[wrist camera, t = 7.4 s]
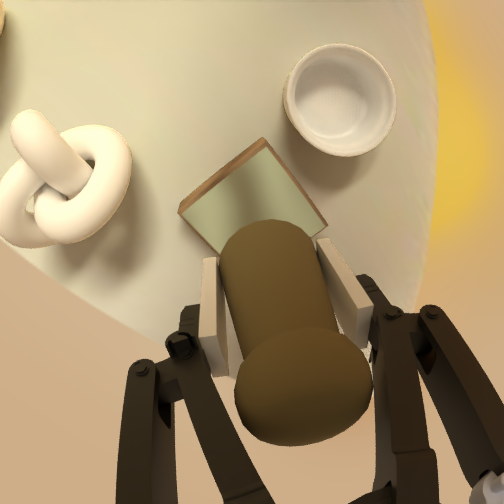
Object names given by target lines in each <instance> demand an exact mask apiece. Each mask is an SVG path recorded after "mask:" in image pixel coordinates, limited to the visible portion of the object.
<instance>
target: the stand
mask: <svg viewBox="0 0 504 504" xmlns="http://www.w3.org/2000/svg"><path fill="white" fill-rule="evenodd" d="M177 213H178V214H179V215H180V216H181V217H182V218H183V219H184V220H185V221H186V222H187V224H188V225H189V226H190V227H191V228H192V229H193V230H194V231H195V232H196V233H197V234H198V235H199V236H200V237H201V238H202V239H203V240H204V241H205V242H206V243H207V244H208V245H209V246H210V247H211V248H212V249H213V250H214V251H215V252H216V253H217V254H218V255H219V256H220V253H221V251H222V249H223V248H224V246H225V244H226V242H227V240H228V239H229V238H230V237H231V236H232V235H234V234H235V233H236V232H237V231H238V230H239V229H240V228H242V227H245V226H247V225H249V224H251V223H253V222H255V221H262V220H269V219H275V220H282V221H288V222H290V223H292V224H294V225H296V226H298V227H300V228H302V230H303V231H304V232H305V233H306V234H307V235H308V236H309V237H310V238H312V237H313V236H314V235H316V234H317V233H319V232H320V231H321V230H323V229H324V228H325V227H327V226H328V224H327V222H326V221H325V219H324V218H323V216H322V215H321V214H320V212H319V211H318V209H317V208H316V206H315V205H314V204H313V202H312V201H311V199H310V198H309V197H308V195H307V194H306V192H305V191H304V190H303V188H302V187H301V185H300V184H299V183H298V181H297V180H296V179H295V177H294V176H293V175H292V173H291V172H290V171H289V169H288V168H287V167H286V165H285V164H284V163H283V161H282V160H281V159H280V157H279V156H278V155H277V153H276V152H275V151H274V150H273V148H272V147H271V146H270V144H269V143H268V142H267V141H266V140H265V139H264V138H263V137H262V138H260V139H259V140H258V141H256V142H255V143H254V144H252V145H251V146H250V147H248V148H247V149H246V150H244V151H243V152H242V153H241V154H239V155H238V156H237V157H235V158H234V159H233V160H232V161H230V162H229V163H228V164H226V165H225V166H224V167H223V168H221V169H220V170H219V171H218V172H216V173H215V174H214V175H213V176H212V177H210V178H209V179H208V180H207V181H205V182H204V183H203V184H202V185H201V186H199V187H198V188H197V189H196V190H195V191H193V192H192V193H191V194H190V195H189V196H187V197H186V198H185V199H184V200H183V201H182V202H181V203H180V206H179V209H178V212H177Z"/></svg>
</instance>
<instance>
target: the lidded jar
mask: <svg viewBox="0 0 504 504" xmlns="http://www.w3.org/2000/svg"><path fill="white" fill-rule="evenodd" d="M4 13H5V7H4V2H3V0H0V36H1V34H2V31H3V28H4V23H5V15H4Z"/></svg>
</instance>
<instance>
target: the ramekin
mask: <svg viewBox="0 0 504 504" xmlns="http://www.w3.org/2000/svg"><path fill="white" fill-rule="evenodd" d="M396 102H397V101H396V94H395V90H394V86H393V83H392V80H391V78H390V76H389V74H388V73H387V71H386V70H385V68H384V67H383V66H382V64H381V63H380V62H379V61H378V60H377V59H376V58H375V57H373V56H372V55H371V54H369V53H368V52H366V51H365V50H362V49H360V48H358V47H355V46H352V45H348V44H341V43H335V44H327V45H323V46H320V47H317V48H315V49H313V50H312V51H310V52H308V53H307V54H306V55H304V56H303V57H302V58H301V59H300V60H299V61H298V62H297V64H296V65H295V66H294V68H293V70H292V71H291V73H290V74H289V76H288V78H287V80H286V82H285V86H284V93H283V103H284V108H285V111H286V114H287V116H288V118H289V120H290V121H291V123H292V125H293V126H294V127H295V128H296V129H297V130H298V132H299V133H300V134H301V136H302V137H303V138H304V139H305V140H306V141H307V142H309V143H310V144H311V145H312V146H314V147H315V148H317V149H318V150H320V151H322V152H324V153H327V154H330V155H333V156H338V157H353V156H358V155H361V154H365V153H367V152H369V151H371V150H372V149H374V148H375V147H376V146H378V145H379V144H380V143H381V142H382V141H383V140H384V139H385V137H386V136H387V135H388V133H389V131H390V130H391V127H392V125H393V122H394V119H395V114H396Z"/></svg>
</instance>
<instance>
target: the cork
mask: <svg viewBox="0 0 504 504" xmlns="http://www.w3.org/2000/svg"><path fill="white" fill-rule="evenodd" d="M218 267H219V272H220V276H221V281H222V285H223V288H224V292H225V296H226V299H227V303H228V307H229V310H230V314H231V317H232V321H233V324H234V328H235V331H236V335H237V338H238V342H239V345H240V349H241V352H242V355H243V359H244V362H243V363H242V364H241V365H240V369H239V372H238V376H237V380H236V384H235V389H234V397H235V405H236V408H237V411H238V414H239V416H240V419H241V421H242V424H243V425H244V426H245V427H246V429H247V430H248V431H249V432H250V433H251V434H252V435H253V436H255V437H256V438H257V439H259V440H260V441H264V442H266V443H270V444H274V445H278V446H303V445H308V444H313V443H317V442H321V441H323V440H326V439H329V438H332V437H334V436H336V435H337V434H339V433H341V432H343V431H345V430H346V429H348V428H349V427H350V426H352V425H353V424H354V423H356V421H358V420H359V419H360V417H361V416H362V415H363V414H364V413H365V411H366V410H367V409H368V406H369V403H370V400H371V396H372V392H373V380H372V374H371V370H370V367H369V363H368V361H367V359H366V357H365V356H364V354H363V352H362V351H361V350H360V349H359V348H358V347H357V346H356V345H355V344H354V343H353V342H352V341H351V340H350V339H348V338H347V337H346V336H345V335H343V334H340V333H339V329H338V325H337V322H336V318H335V314H334V311H333V307H332V303H331V300H330V296H329V293H328V289H327V286H326V283H325V279H324V276H323V272H322V269H321V266H320V263H319V259H318V256H317V253H316V250H315V247H314V245H313V242H312V240H311V238H310V237H309V236H308V235H307V234H306V233H305V232H304V231H303V230H302V228H300V227H298V226H296V225H294V224H292V223H290V222H288V221H282V220H275V219H269V220H262V221H255V222H253V223H251V224H249V225H247V226H245V227H242V228H240V229H239V230H238V231H237V232H236V233H235V234H234V235H232V236H231V237H230V238H229V239H228V240H227V242H226V244H225V246H224V248H223V249H222V251H221V253H220V259H219V266H218Z"/></svg>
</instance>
